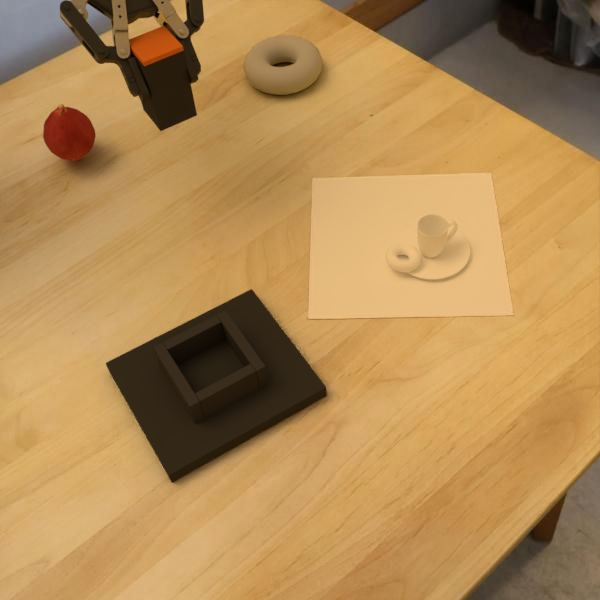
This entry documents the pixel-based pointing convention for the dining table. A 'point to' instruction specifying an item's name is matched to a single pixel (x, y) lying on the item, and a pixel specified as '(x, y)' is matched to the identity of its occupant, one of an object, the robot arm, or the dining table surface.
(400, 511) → the dining table surface
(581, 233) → the dining table surface
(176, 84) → the pad block
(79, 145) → the pomegranate
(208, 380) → the base pad
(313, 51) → the donut
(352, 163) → the dining table surface
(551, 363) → the dining table surface
